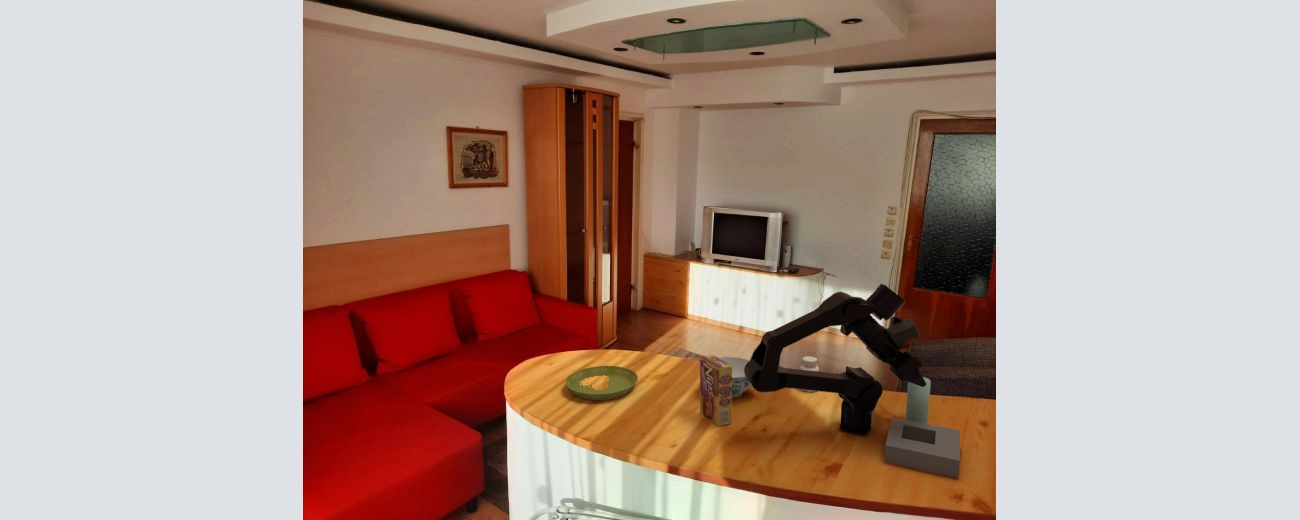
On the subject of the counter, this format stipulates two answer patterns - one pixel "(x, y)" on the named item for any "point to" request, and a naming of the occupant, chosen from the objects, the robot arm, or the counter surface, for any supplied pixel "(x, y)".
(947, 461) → the socket block
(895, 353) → the robot arm
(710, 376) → the candy box
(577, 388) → the saucer
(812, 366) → the pill bottle
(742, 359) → the chinaware
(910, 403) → the teal peg
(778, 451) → the counter surface
